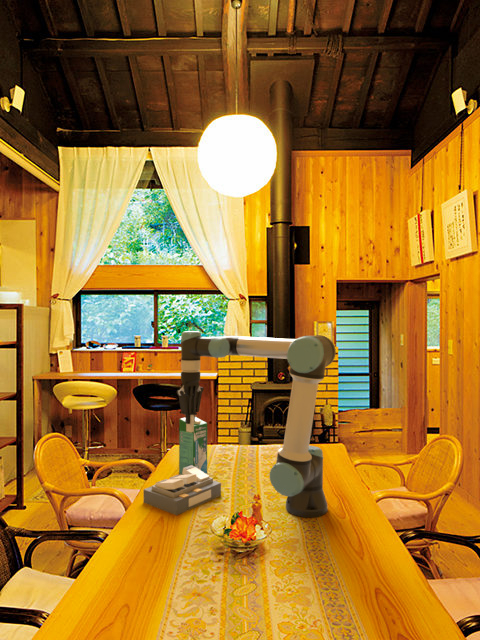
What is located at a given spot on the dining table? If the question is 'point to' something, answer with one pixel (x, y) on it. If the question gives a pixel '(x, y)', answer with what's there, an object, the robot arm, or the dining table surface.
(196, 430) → the milk carton
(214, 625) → the dining table surface
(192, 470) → the rocker
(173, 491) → the switch unit
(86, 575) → the dining table surface
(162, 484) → the rocker
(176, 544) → the dining table surface
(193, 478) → the rocker
